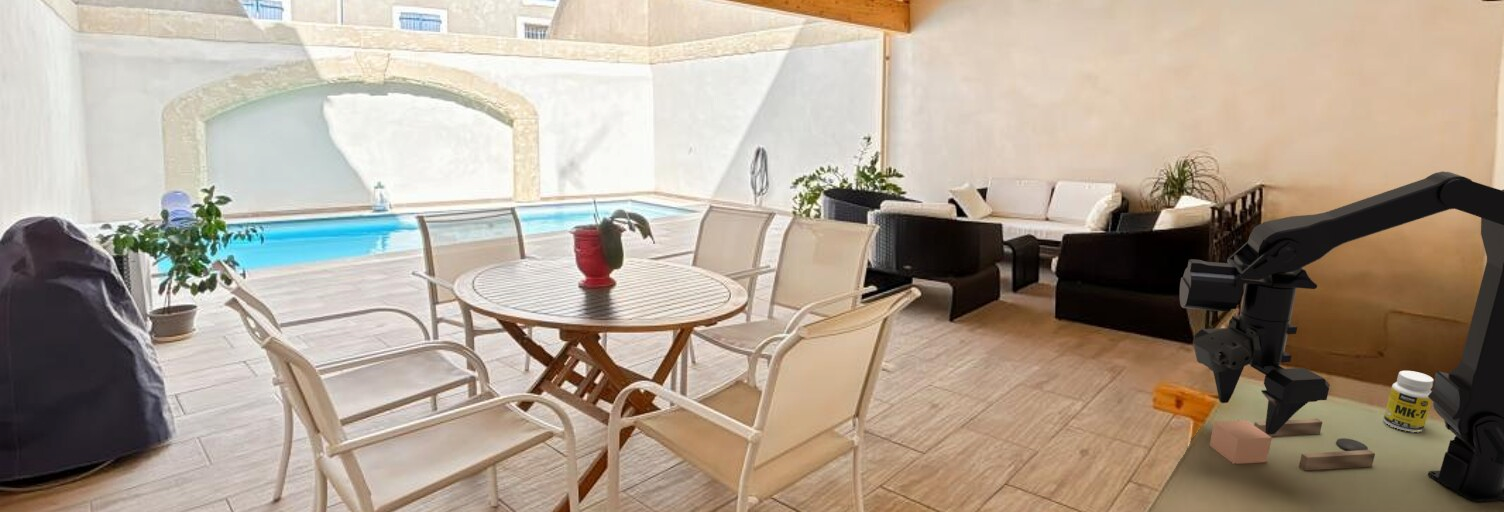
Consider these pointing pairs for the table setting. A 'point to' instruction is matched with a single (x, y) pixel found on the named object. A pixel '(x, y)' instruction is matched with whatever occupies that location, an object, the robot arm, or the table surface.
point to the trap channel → (1350, 458)
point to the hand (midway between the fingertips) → (1245, 417)
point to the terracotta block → (1240, 441)
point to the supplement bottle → (1409, 401)
